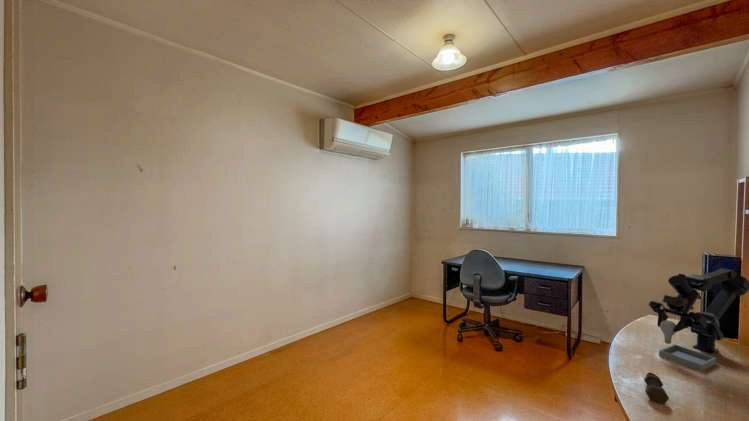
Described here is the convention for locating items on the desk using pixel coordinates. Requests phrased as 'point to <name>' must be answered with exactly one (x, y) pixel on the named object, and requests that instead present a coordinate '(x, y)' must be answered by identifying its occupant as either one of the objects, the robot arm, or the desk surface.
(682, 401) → the desk surface
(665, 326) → the light bulb
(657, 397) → the dark brown lumpy piece
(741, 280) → the robot arm
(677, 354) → the tray
